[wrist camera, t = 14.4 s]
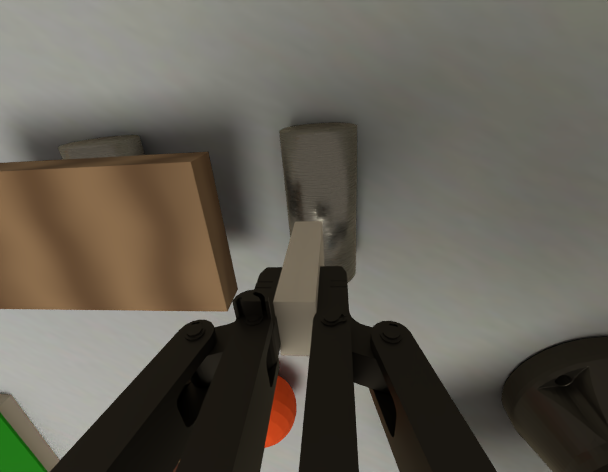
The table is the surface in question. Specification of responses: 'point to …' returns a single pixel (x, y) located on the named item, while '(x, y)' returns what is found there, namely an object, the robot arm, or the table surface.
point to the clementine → (281, 413)
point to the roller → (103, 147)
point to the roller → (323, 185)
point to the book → (21, 441)
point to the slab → (114, 235)
